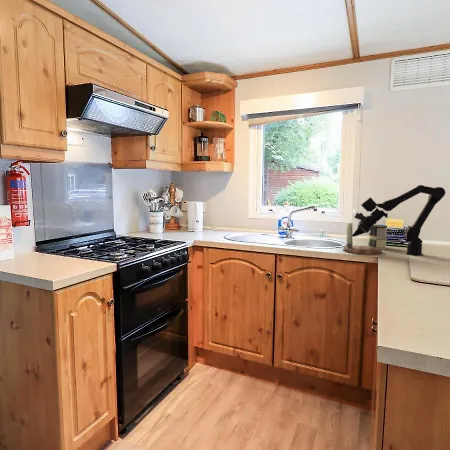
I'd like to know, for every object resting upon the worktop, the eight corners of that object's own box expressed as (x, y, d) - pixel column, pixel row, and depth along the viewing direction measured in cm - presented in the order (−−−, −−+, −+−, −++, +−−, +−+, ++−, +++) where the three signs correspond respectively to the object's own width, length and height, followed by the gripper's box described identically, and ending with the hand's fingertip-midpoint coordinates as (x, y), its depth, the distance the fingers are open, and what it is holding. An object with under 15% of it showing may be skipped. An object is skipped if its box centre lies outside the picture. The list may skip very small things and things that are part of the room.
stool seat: (380, 250, 202) (380, 242, 202) (383, 255, 182) (383, 247, 182) (343, 248, 209) (343, 241, 209) (342, 253, 190) (342, 245, 190)
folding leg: (352, 244, 199) (352, 223, 198) (352, 245, 196) (352, 223, 195) (346, 244, 200) (346, 223, 199) (346, 245, 197) (346, 223, 196)
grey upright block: (367, 248, 208) (368, 225, 207) (369, 246, 217) (370, 224, 216) (385, 249, 203) (386, 226, 202) (386, 247, 212) (387, 225, 211)
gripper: (363, 207, 202) (343, 225, 207) (363, 208, 185) (342, 227, 190) (376, 220, 200) (356, 238, 205) (379, 223, 183) (356, 242, 188)
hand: (352, 236), depth 197 cm, fingers closed, pressing on folding leg
